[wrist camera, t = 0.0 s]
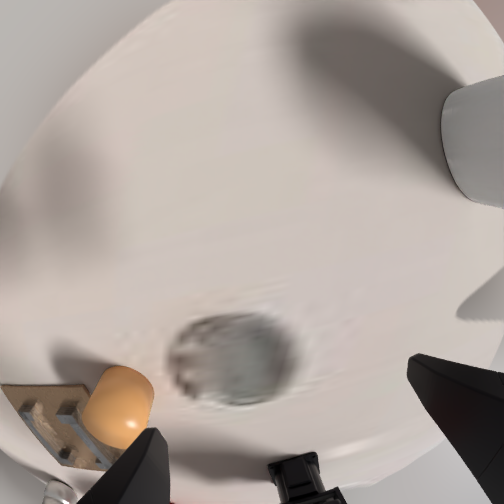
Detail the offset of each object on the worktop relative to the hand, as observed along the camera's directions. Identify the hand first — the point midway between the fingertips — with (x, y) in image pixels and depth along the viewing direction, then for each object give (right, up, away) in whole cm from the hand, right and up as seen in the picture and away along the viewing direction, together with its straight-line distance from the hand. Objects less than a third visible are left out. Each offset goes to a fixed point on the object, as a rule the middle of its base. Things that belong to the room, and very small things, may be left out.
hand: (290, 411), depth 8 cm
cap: (-13, -8, +15) cm, 22 cm away
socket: (-25, -18, +16) cm, 34 cm away
